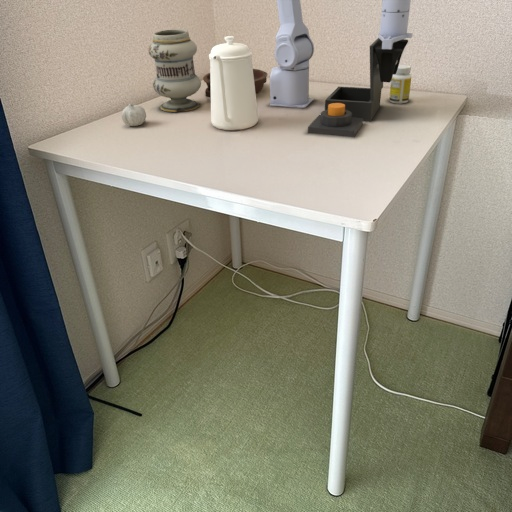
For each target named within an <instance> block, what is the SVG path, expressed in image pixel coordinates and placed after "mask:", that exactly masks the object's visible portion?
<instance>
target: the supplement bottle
mask: <svg viewBox="0 0 512 512" xmlns="http://www.w3.org/2000/svg"><path fill="white" fill-rule="evenodd" d="M411 71H412V66H411V65H408V64H399V66H398V69H397V72H396V74H393V76H392V79H391V82H390V88H389V98H388V99H389V100H388V101H389V102H390V103H392V104H399V105H400V104H406V103H408V102H409V99H410V92H411V84H412V74H410V73H411Z"/></svg>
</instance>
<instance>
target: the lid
mask: <svg viewBox="0 0 512 512" xmlns="http://www.w3.org/2000/svg"><path fill="white" fill-rule="evenodd" d="M375 47H382V41H381V40H380V39H379V38H378V37H377V39H376V40H374V41H373V42H372V43H371V44H370V45H369V88H370V101H374V99H375V98H376V96H377V95H378V94H379V92H380V91H381V92H382V90H381V89H383V88H384V82H381V80H380V72H379V64H378V60H377V57H376V54H375V51H374V49H375ZM396 64H397V62H396Z"/></svg>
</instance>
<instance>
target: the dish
mask: <svg viewBox="0 0 512 512" xmlns="http://www.w3.org/2000/svg"><path fill="white" fill-rule="evenodd" d="M253 75H254V84H255V93H256V95H257V94H258V93H260V92H262V91H263V89H264V85H265V84H266V83H267V78H268V73H267V72H266V71H265V70H261V69H258V68H253ZM202 80H203V82H204V83H205V84H206V86H207V87H206V88H205V90H204V91H205V92H204V93H205V97H207V98H209V99H211V85H210V72H209V73H207V74H204V76H203V77H202Z"/></svg>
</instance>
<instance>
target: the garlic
mask: <svg viewBox="0 0 512 512" xmlns="http://www.w3.org/2000/svg"><path fill="white" fill-rule="evenodd" d="M121 119H122V120H121V121H122V122H123V123H124V124H125V126H126V125H127V126H129V127H137V126H140V125H142V124H144V123H145V122H146V119H147V112H146V110H145V108H144V107H142V106H141V105H138V104H133V103H131V102H129V104H128V105H127V106H125V107H124V108H123V109H122V113H121Z"/></svg>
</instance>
